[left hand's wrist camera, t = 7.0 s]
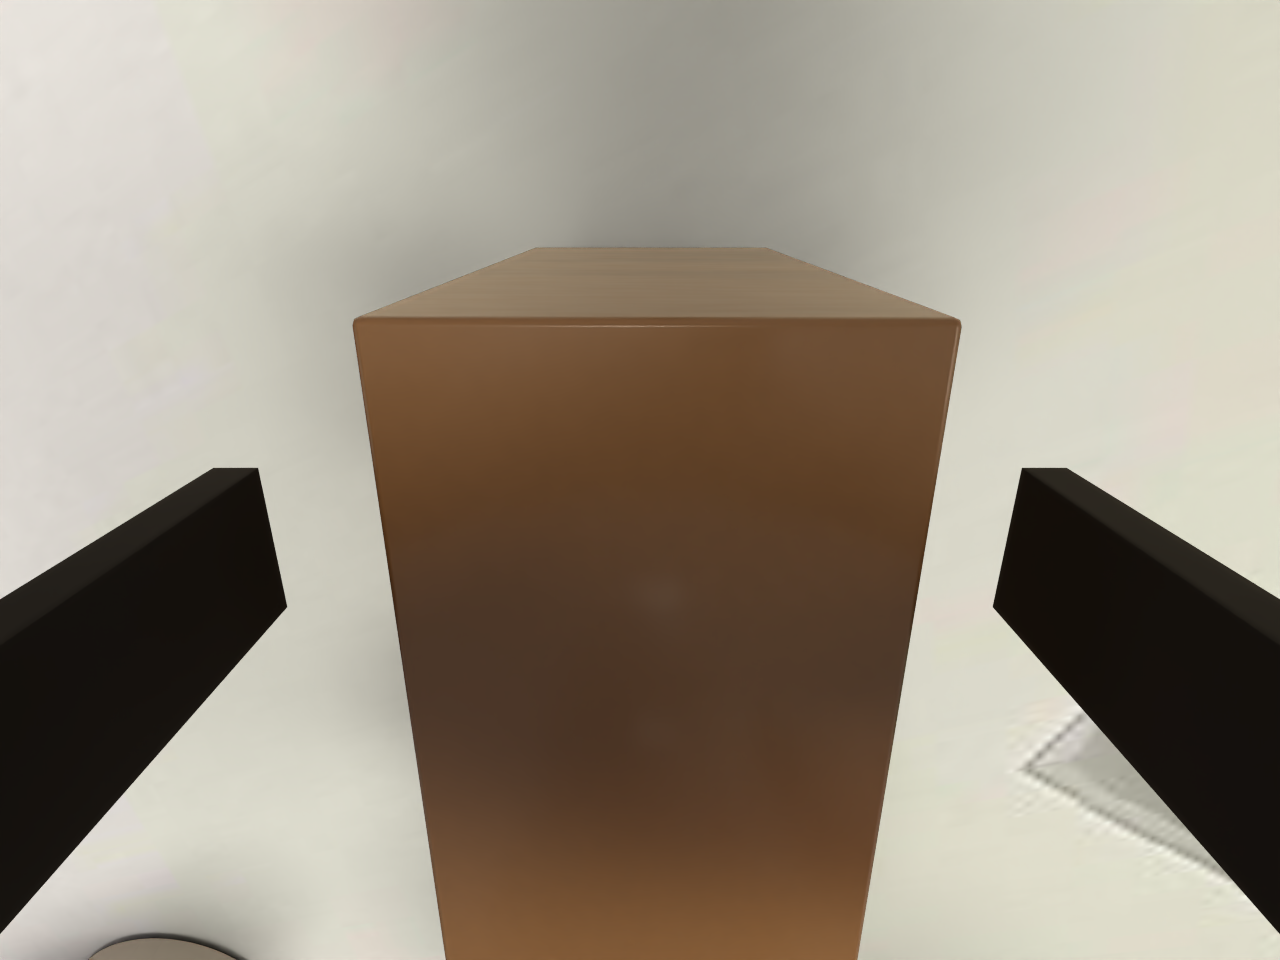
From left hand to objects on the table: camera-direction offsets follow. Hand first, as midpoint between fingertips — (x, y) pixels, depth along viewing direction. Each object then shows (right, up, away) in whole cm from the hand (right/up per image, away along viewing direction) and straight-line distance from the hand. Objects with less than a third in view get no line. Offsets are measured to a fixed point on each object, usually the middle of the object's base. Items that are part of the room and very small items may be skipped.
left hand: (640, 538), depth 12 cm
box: (0, -4, +11) cm, 12 cm away
